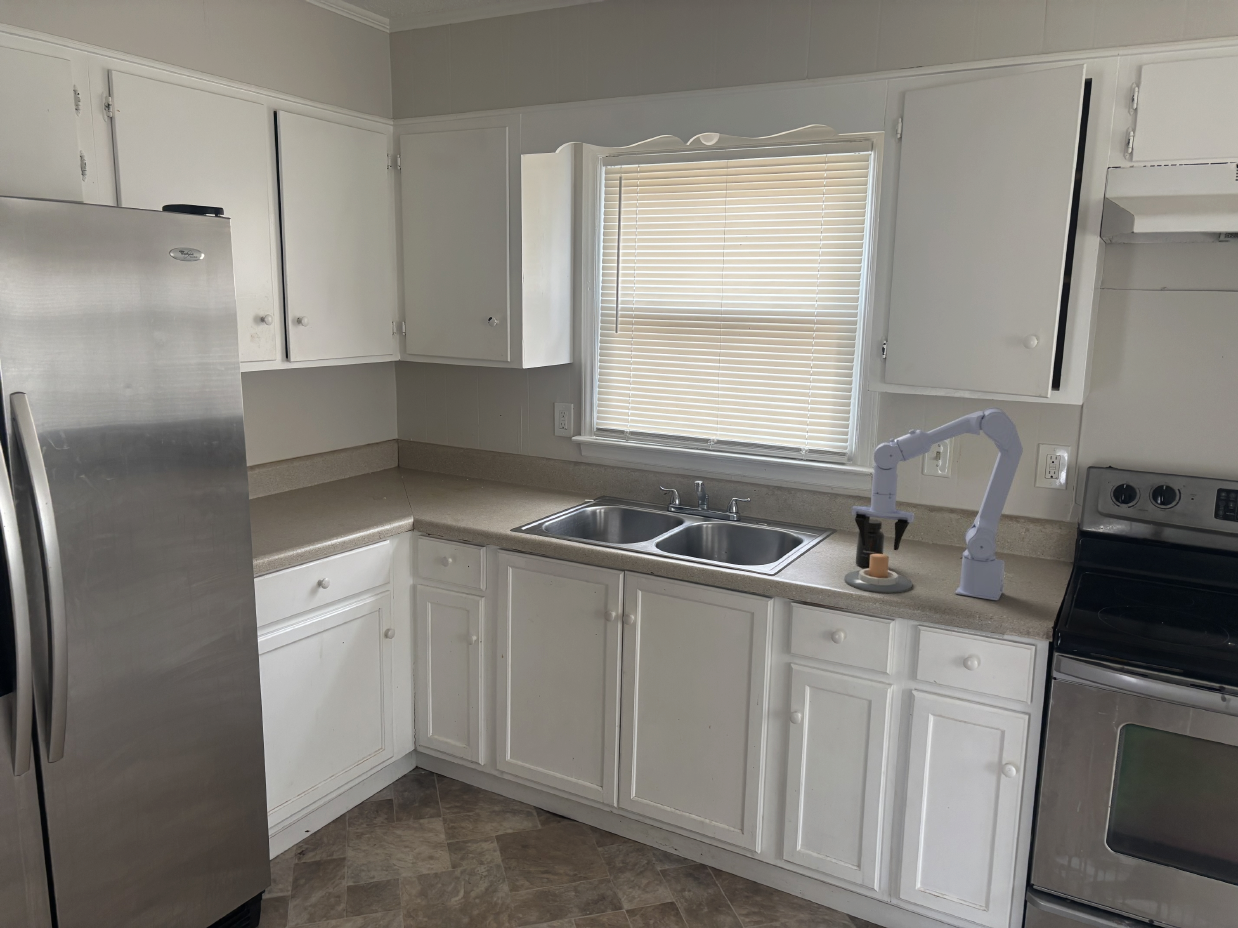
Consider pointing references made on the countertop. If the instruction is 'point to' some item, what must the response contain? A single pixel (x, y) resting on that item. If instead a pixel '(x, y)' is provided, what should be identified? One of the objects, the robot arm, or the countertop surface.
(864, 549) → the supplement bottle
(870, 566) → the tan rounded block
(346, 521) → the countertop surface
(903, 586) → the tray
